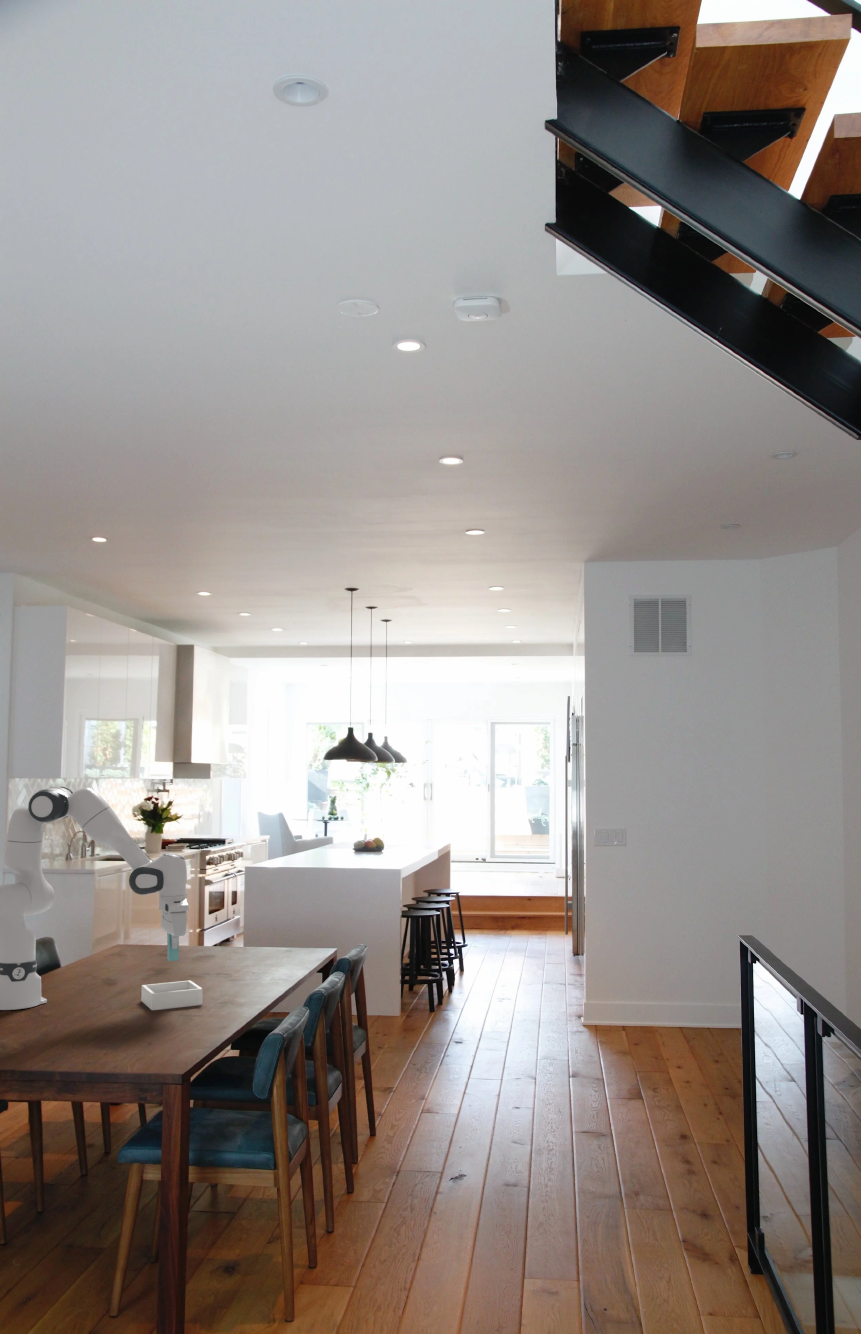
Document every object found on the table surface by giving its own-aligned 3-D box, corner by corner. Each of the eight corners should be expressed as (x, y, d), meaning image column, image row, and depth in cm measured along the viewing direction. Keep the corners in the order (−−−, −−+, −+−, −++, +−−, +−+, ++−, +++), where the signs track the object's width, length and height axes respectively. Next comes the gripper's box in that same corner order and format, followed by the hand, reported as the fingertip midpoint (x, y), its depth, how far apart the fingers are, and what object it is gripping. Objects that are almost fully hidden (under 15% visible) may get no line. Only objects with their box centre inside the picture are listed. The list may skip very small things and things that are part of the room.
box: (141, 1001, 338) (141, 985, 338) (190, 995, 345) (190, 980, 346) (151, 1010, 324) (152, 994, 324) (202, 1004, 331) (202, 988, 331)
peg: (167, 960, 336) (167, 928, 338) (176, 959, 338) (176, 928, 339) (169, 961, 334) (169, 929, 335) (178, 960, 335) (178, 929, 336)
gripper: (156, 902, 346) (156, 944, 344) (170, 907, 327) (170, 952, 326) (175, 900, 348) (175, 942, 347) (190, 906, 330) (190, 950, 329)
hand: (172, 947), depth 336 cm, fingers closed on peg, 3 cm apart
